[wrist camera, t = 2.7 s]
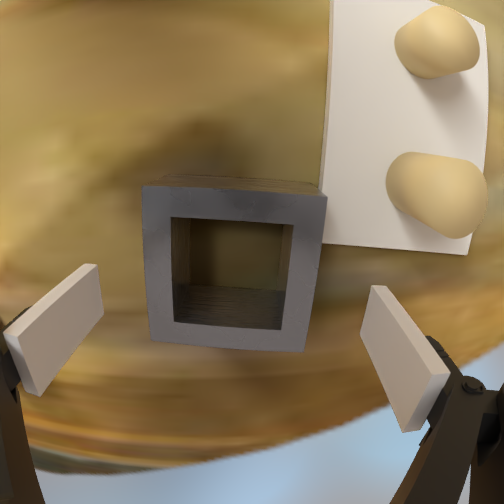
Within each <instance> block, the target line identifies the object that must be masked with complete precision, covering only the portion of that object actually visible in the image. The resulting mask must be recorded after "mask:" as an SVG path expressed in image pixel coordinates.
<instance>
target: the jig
mask: <svg viewBox="0 0 504 504" xmlns="http://www.w3.org/2000/svg"><path fill="white" fill-rule="evenodd" d="M487 122H488V62H487V47H486V35H485V26H484V25H482V24H480V23H478V22H477V21H475V20H473V19H470V18H468V17H466V16H464V15H462V14H460V13H458V12H457V11H455V10H453V9H451V8H449V7H446V6H442V5H439V4H437V3H434V2H432V1H429V0H330V23H329V53H328V74H327V91H326V107H325V120H324V133H323V145H322V156H321V167H320V177H319V186H318V189H319V190H320V191H321V192H322V193H324V194H325V195H326V196H327V197H328V200H327V208H326V216H325V224H324V232H323V239H322V243H327V244H340V245H353V246H366V247H378V248H390V249H402V250H414V251H426V252H437V253H448V254H459V255H467V254H468V250H469V246H470V241H471V237H472V233H473V231H475V229H476V228H477V227H478V226H479V225H480V223H481V221H482V220H483V217H484V215H485V212H486V209H487V204H488V189H487V184H486V181H485V178H484V176H483V169H484V160H485V150H486V138H487Z"/></svg>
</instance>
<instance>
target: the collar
mask: <svg viewBox="0 0 504 504" xmlns="http://www.w3.org/2000/svg"><path fill="white" fill-rule="evenodd" d="M327 200H328V197H327V196H326V195H325V194H324V193H322V192H321V191H320V190H319V189H318V188H316V187H315V186H314V185H313V184H312V183H305V182H294V181H283V180H270V179H257V178H241V177H224V176H202V175H171V174H168V175H166V176H164V177H161V178H159V179H156V180H154V181H152V182H149V183H147V184H145V185H143V186H142V229H143V253H144V270H145V284H146V296H147V307H148V318H149V327H150V336H151V340H152V341H160V342H168V343H177V344H186V345H195V346H206V347H217V348H229V349H243V350H259V351H279V352H304V348H305V343H306V338H307V332H308V327H309V321H310V316H311V310H312V304H313V298H314V292H315V286H316V280H317V273H318V267H319V260H320V253H321V246H322V239H323V232H324V224H325V216H326V208H327ZM190 218H201V219H218V220H234V221H249V222H263V223H277V224H283V233H282V243H281V253H280V262H279V272H278V281H277V290H265V289H250V288H235V287H222V286H208V285H196V284H190Z"/></svg>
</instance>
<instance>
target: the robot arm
mask: <svg viewBox="0 0 504 504" xmlns="http://www.w3.org/2000/svg"><path fill="white" fill-rule="evenodd" d="M103 315H104V310H103V303H102V296H101V289H100V281H99V273H98V265H96V264H86V263H85V264H83V265H82V266H81V267H79V268H78V269H77V270H76V271H74V272H73V273H72V274H71V275H69V276H68V277H67V278H66V279H64V280H63V281H62V282H61V283H59V284H58V285H57V286H56V287H54V288H53V289H52V290H51V291H50V292H48V293H47V294H46V295H45V296H44V297H42V298H41V299H40V300H39V301H38V302H37V303H35V304H34V305H32V306H30V307H28V308H26V309H24V310H23V311H22V312H21V313H20V314H19V315H18V316H16V317H15V318H14V319H13V321H11V322H9V323H8V324H7V325H6V326H5V327H4V328H3V329H2V330H1V331H0V504H45V501H44V498H43V495H42V492H41V489H40V486H39V482H38V479H37V476H36V472H35V469H34V465H33V461H32V457H31V453H30V449H29V445H28V440H27V436H26V431H25V426H24V420H23V415H22V409H21V402H20V395H19V391H18V389H17V387H16V385H17V384H18V383H19V382H20V380H21V382H22V384H23V387H24V389H25V391H26V392H28V393H30V394H33V395H36V396H39V397H41V395H42V394H43V392H44V391H45V390H46V388H47V387H48V386H49V384H50V383H51V381H52V380H53V379H54V377H55V376H56V375H57V373H58V372H59V371H60V369H61V368H62V367H63V365H64V364H65V363H66V361H67V360H68V359H69V358H70V356H71V355H72V354H73V352H74V351H75V350H76V348H77V347H78V346H79V345H80V343H81V342H82V341H83V340H84V338H85V337H86V336H87V334H88V333H89V332H90V331H91V329H92V328H93V327H94V326H95V325H96V323H97V322H98V321H99V320H100V318H101V317H102V316H103ZM360 337H361V339H362V341H363V343H364V345H365V347H366V350H367V352H368V354H369V356H370V358H371V361H372V363H373V365H374V367H375V369H376V372H377V374H378V376H379V378H380V381H381V383H382V385H383V388H384V390H385V392H386V395H387V397H388V399H389V402H390V404H391V406H392V409H393V411H394V413H395V416H396V418H397V421H398V423H399V426H400V428H401V431H402V433H404V432H410V431H417V430H420V429H421V428H422V426H423V424H424V422H425V421H426V419H427V420H428V422H429V424H430V428H429V429H428V431H427V433H426V434H425V436H424V438H423V439H422V441H421V442H420V444H419V446H420V448H419V450H418V452H417V454H416V456H415V458H414V461H413V462H412V464H411V466H410V468H409V470H408V472H407V474H406V476H405V478H404V479H403V481H402V483H401V485H400V487H399V488H398V490H397V492H396V493H395V495H394V497H393V499H392V500H391V502H390V504H457V503H458V500H459V497H460V495H461V492H462V489H463V486H464V483H465V480H466V477H467V474H468V471H469V467H470V464H471V476H470V495H469V504H504V383H503V385H502V387H501V388H500V390H499V391H494V390H486V388H485V386H484V385H483V383H482V382H480V381H479V380H478V379H476V378H474V377H470V376H463V375H462V373H461V372H460V370H459V369H458V368H457V366H456V365H455V364H454V362H453V361H452V360H451V358H450V357H449V355H448V354H447V353H446V351H444V349H443V347H442V346H441V345H440V344H439V342H437V341H436V340H435V339H433V338H432V337H431V336H424V335H423V333H422V332H421V330H420V329H419V328H418V326H417V325H416V324H415V322H414V321H413V320H412V319H411V317H410V316H409V315H408V313H407V312H406V311H405V309H404V308H403V307H402V306H401V304H400V303H399V302H398V300H397V299H396V298H395V297H394V295H393V294H392V293H391V292H390V290H389V289H388V288H387V287H386V286H380V285H371V290H370V294H369V298H368V303H367V307H366V311H365V315H364V319H363V323H362V327H361V331H360Z"/></svg>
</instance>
